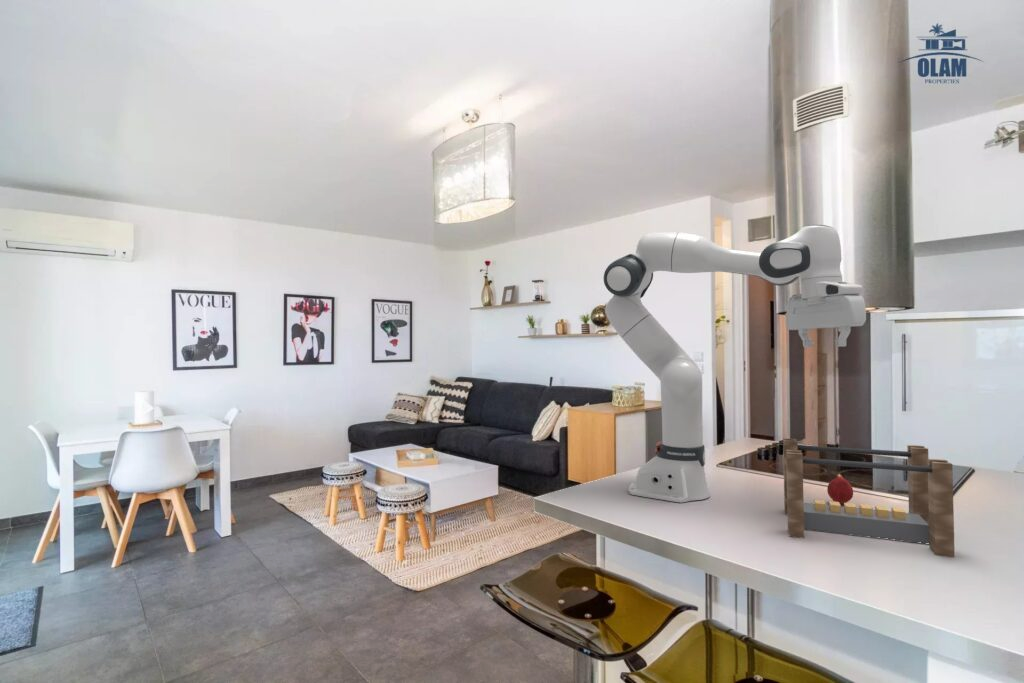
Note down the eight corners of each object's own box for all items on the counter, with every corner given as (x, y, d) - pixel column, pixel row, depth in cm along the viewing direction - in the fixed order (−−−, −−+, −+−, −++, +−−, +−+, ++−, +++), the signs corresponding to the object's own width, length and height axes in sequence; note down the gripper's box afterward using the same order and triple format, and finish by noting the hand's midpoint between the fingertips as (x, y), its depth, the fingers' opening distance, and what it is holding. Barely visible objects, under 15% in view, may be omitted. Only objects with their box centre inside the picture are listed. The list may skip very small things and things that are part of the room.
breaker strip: (799, 528, 119) (799, 504, 119) (797, 518, 126) (796, 495, 126) (929, 544, 109) (929, 517, 109) (918, 531, 116) (918, 506, 116)
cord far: (788, 449, 130) (788, 444, 130) (787, 448, 131) (787, 444, 131) (924, 458, 118) (924, 453, 118) (923, 457, 120) (922, 452, 120)
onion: (857, 508, 133) (857, 477, 133) (833, 507, 134) (832, 476, 134) (847, 502, 138) (847, 472, 138) (824, 501, 140) (823, 471, 140)
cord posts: (788, 536, 115) (787, 453, 115) (784, 509, 133) (783, 438, 133) (954, 557, 102) (952, 464, 103) (924, 524, 120) (923, 445, 121)
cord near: (792, 462, 116) (791, 457, 116) (791, 461, 117) (791, 456, 117) (947, 474, 104) (947, 468, 104) (945, 473, 105) (945, 467, 105)
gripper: (778, 295, 137) (780, 347, 136) (848, 285, 117) (850, 346, 117) (797, 295, 138) (800, 347, 138) (869, 285, 119) (872, 345, 118)
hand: (823, 346), depth 127 cm, fingers open, 8 cm apart
